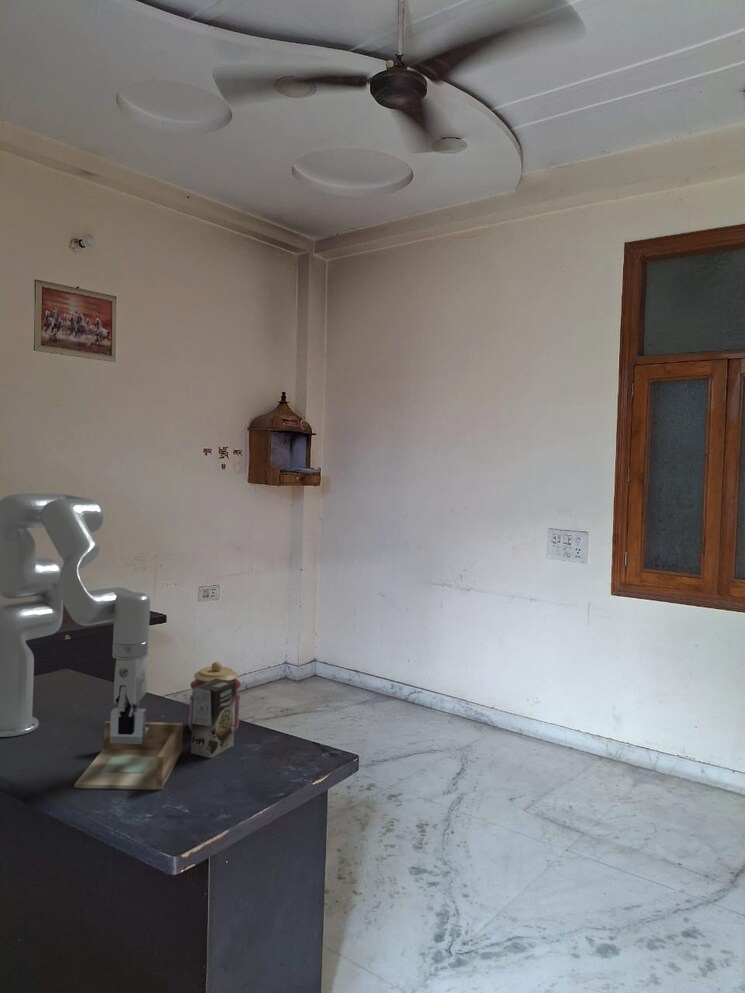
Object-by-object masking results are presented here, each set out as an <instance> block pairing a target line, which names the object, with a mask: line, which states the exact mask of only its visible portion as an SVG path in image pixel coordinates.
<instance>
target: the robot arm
mask: <svg viewBox="0 0 745 993" xmlns="http://www.w3.org/2000/svg"><path fill="white" fill-rule="evenodd" d="M103 523H104V513H103V509H102V508H101V506H100V505H99V504H98V503H97V502H96V501H94V500H93V499H91V498H86V497H81V496H77V495H71V494H66V493H36V492H35V493H29V492H28V493H27V492H26V493H14V494H10V495H7V496H6V495H5V496H4V497H2V498H1V499H0V596H1V597H3V598H5V599H12V600H13V599H20V598H21V599H23V598H31V597H35V600H31V601H30V600H29V601H21V602H15V603H14V602H13V603H9V604H5V605H2V606H0V738H7V737H8V738H9V737H16V736H20V735H25V734H28V733H31V732H33V731H35V730H36V729H38V727H39V719H38V718H36V717H35V716H33V705H34V704H33V703H34V702H33V700H34V698H33V697H34V677H35V676H34V674H35V671H34V670H35V657H34V656H35V655H34V653H33V651H32V649H31V648H30V647H29V646H28V644H27V641H29V640H32V639H33V640H34V639H38V638H43V637H47V636H51V635H53V634H56V633H57V632H58V631H59V630H60V628H61V626H62V625H63V624H62V623H63V620H64V619H63V617H64V607H65V609H66V611H67V614H68V615H70V617H71V620H73V621H74V622H75V623H76V624H78V625H81V626H85V627H86V626H87V627H88V626H94V625H100V624H104V623H112V622H113V634H112V636H113V638H112V657H113V659H115V667H114V668H115V669H114V680H113V681H114V682H113V703H114V704H116V705H117V708H118V712H119V715H118V716H119V719H118V734H127V735H132V734H133V732H134V716H132V715H133V708H137V709H139V702H140V701H141V700H142V699H143V697H144V696H145V695H146V694H147V690H148V679H147V677H148V676H147V675H148V674H147V673H148V672H147V666H148V664H147V657H148V656H149V648H150V647H149V645H150V640H149V639H150V619H151V618H150V617H151V598H150V596H149V595H148V594H147V593H144V592H137V591H136V592H134V591H131V590H129V589H128V588H125V587H120V586H119V587H109V588H102V589H101V588H100V589H95V590H87V589H86V587H85V585H84V584H83V581H82V580H81V577H80V572H79V570H81V569H82V568H84V567H85V566H87V565H89V564H90V563H92V562H93V560H95V559H97V558H96V557H98V555H99V552H100V546H99V544H98V542H97V540H96V538H95V537H94V535H93V533H95V532H97V531H98V530H100V529H101V528H102V527H103ZM31 528H44V529H45V531H46V533H47V535H48V536H49V538H50V540H51V542H52V544H53V546H54V548H55V549H56V551H57V554H58V555H59V557H60V559H61V561H62V566H61V565H60V564H59V562H57V561H56V560H55V559H53V558H49V557H42V558H41V557H40V558H36V547H37V546H36V541H35V539H34V537H33V535H32V534H31V532H30V530H29V529H31Z"/></svg>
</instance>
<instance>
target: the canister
mask: <svg viewBox="0 0 745 993" xmlns="http://www.w3.org/2000/svg"><path fill="white" fill-rule="evenodd" d="M238 677H239V674H238V672H236V671H234V670H233V669H232V668H230V667H227V666H223V665H222V663H221V662H220V661H214V662H213V663H211V666H207V667H203V668H201V669H200V670H199V671H197V672H195V673H194V675H193V678H194V679H193V680H192V681H191V683H190V684H189V686H190V688H191V690H192V691H191V694H190V695H189V718H188V726H189V727H188V728H189V731H190V732H191V733H192V721H193V704H194V687H196V686H198V685H201V684H204V683H206V682H209V681H211V680H214V679H221V680H228V681H234V682H236V700H235V721H234V733H236V731H237V730H238V728H239V725H240V699H241V694H240V692H239V688H240V687H241V686H242V683H241V681H240V680H239V679H238Z"/></svg>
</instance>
